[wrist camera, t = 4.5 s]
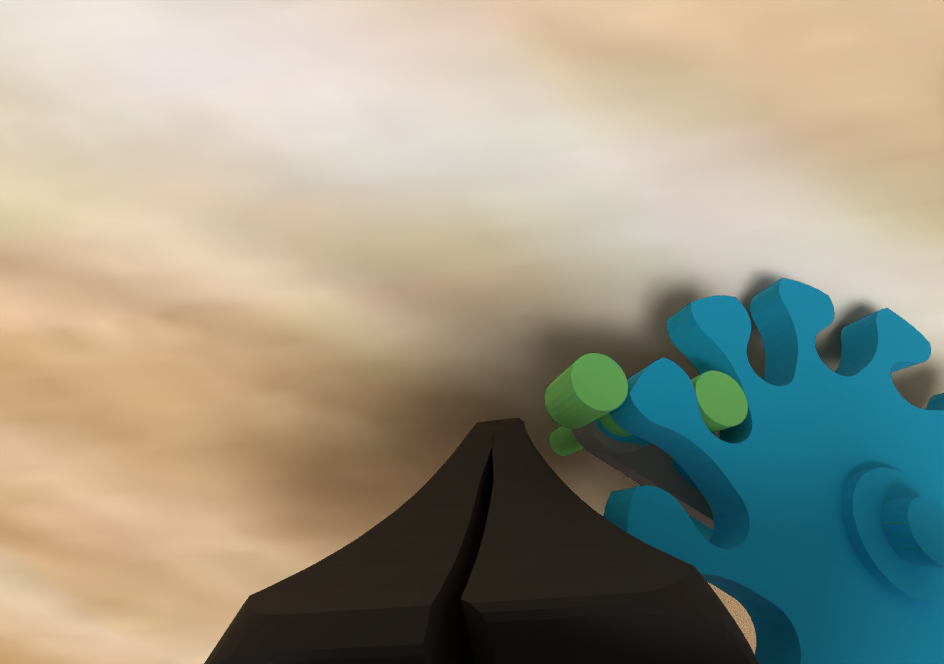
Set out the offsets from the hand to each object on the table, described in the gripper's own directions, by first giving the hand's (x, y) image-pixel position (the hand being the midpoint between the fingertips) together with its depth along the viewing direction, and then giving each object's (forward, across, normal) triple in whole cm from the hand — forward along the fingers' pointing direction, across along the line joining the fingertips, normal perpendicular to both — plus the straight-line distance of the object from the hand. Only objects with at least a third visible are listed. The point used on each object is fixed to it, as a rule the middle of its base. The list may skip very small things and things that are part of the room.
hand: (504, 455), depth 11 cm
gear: (+1, -6, 0) cm, 6 cm away
